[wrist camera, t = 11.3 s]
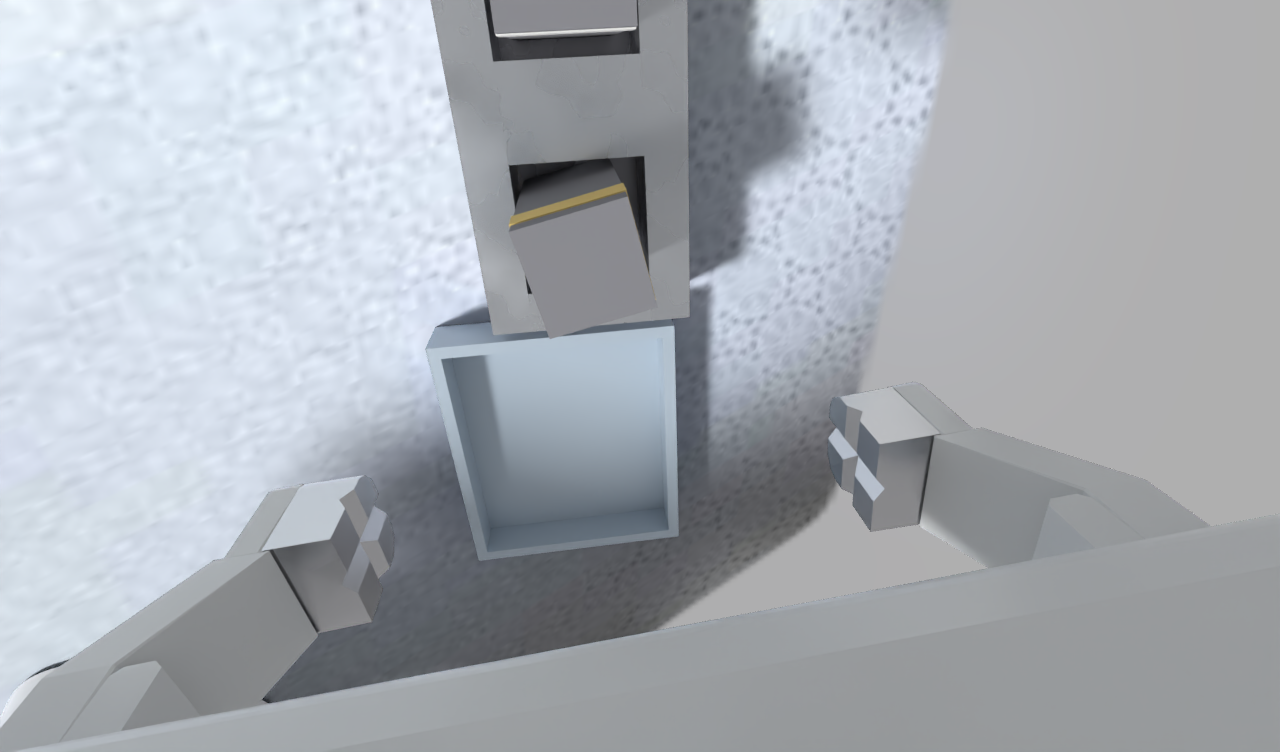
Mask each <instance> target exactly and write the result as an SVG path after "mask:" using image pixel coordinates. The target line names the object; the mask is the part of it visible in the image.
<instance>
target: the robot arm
mask: <svg viewBox="0 0 1280 752" xmlns="http://www.w3.org/2000/svg"><path fill="white" fill-rule="evenodd" d="M829 418H830V420H831V421H832V422H833V424H834V425H835V426H836V429H835V430H834V431H833V432H832V434H831V435H830V436H829V438H828V457H829V462H830V467H831V470H832V473H833V475H834V477H835V479H836V481H837V483H838V484H839V486H840V487H841V488H842V489H844V490H846V491H848V492H850V493H852V494H853V507H854V508H855V510H856V511H857V512H858V514H859V516H860V517H861V518H862V520H863V521H864V523H865V524H866V526H867V527H868V529H869V530H870V531H871V532H872V531H879V530H885V529H892V528H897V527H905V526H911V525H918V524H920V527H921V528H923V529H925V530H926V531H928V532H930V533H931V534H933V535H934V536H936V537H938V538H939V539H941V540H943V541H944V542H946V543H948V544H949V545H951V546H953V547H954V548H956V549H958V550H959V551H961V552H963V553H964V554H966V555H967V556H969V557H971V558H972V559H974V560H976V561H977V562H979V563H981V564H982V565H984V566H986V567H988V569H982V570H977V571H972V572H966V573H961V574H956V575H951V576H946V577H941V578H936V579H931V580H925V581H919V582H914V583H909V584H903V585H898V586H893V587H888V588H882V589H877V590H871V591H866V592H861V593H855V594H850V595H844V596H839V597H834V598H828V599H823V600H818V601H813V602H807V603H801V604H796V605H791V606H785V607H780V608H774V609H770V610H764V611H758V612H753V613H748V614H743V615H737V616H732V617H726V618H721V619H716V620H710V621H705V622H699V623H694V624H689V625H684V626H679V627H673V628H668V629H662V630H657V631H652V632H646V633H641V634H636V635H631V636H625V637H620V638H615V639H609V640H604V641H599V642H594V643H588V644H583V645H578V646H572V647H567V648H562V649H556V650H551V651H546V652H541V653H535V654H530V655H525V656H519V657H514V658H509V659H504V660H498V661H493V662H488V663H482V664H477V665H472V666H466V667H461V668H456V669H450V670H445V671H440V672H434V673H429V674H424V675H418V676H413V677H407V678H402V679H397V680H391V681H386V682H381V683H375V684H370V685H365V686H359V687H354V688H349V689H343V690H338V691H333V692H327V693H322V694H317V695H311V696H306V697H301V698H295V699H290V700H285V701H279V702H274V703H269V704H268V703H267V702H265V701H263V700H262V699H263V698H264V697H265V695H266V694H267V693H268V692H269V691H270V690H271V689H272V688H273V687H274V685H275V684H276V683H277V682H278V681H279V680H280V679H281V678H282V676H283V675H284V674H285V673H286V672H287V671H288V670H289V669H290V667H291V666H292V665H293V664H294V663H295V662H296V661H297V660H298V659H299V657H300V656H301V655H302V654H303V653H304V652H305V651H306V650H307V648H308V647H309V646H310V645H311V644H312V643H313V642H314V641H315V640H316V638H317V637H318V633H323V632H327V631H332V630H337V629H342V628H346V627H351V626H356V625H361V624H366V623H370V622H372V621H373V618H374V615H375V612H376V609H377V606H378V603H379V600H380V597H381V594H382V591H383V588H382V586H381V583H380V581H379V578H380V577H381V576H382V575H383V574H384V573H385V572H386V571H387V570H388V569H389V568H390V566H391V563H392V559H393V556H394V533H393V529H392V524H391V522H390V519H389V517H388V514H387V513H385V512H384V511H382V510H380V509H379V508H377V507H376V506H374V505H375V502H376V500H377V497H378V494H379V493H378V491H377V489H376V487H375V485H374V483H373V481H372V479H371V478H369V477H367V476H365V475H362V476H355V477H348V478H342V479H335V480H328V481H321V482H314V483H307V484H305V485H304V484H300V485H294V486H289V487H283V488H277V489H275V490H272V491H270V492H268V494H267V495H266V497H265V498H264V500H263V501H262V503H261V504H260V506H259V507H258V509H257V510H256V512H255V513H254V515H253V516H252V518H251V519H250V521H249V522H248V524H247V525H246V527H245V528H244V529H243V531H242V532H241V534H240V535H239V537H238V538H237V540H236V541H235V543H234V544H233V546H232V547H231V549H230V550H229V552H228V553H227V555H226V556H225V558H223V559H218V560H213V561H212V562H211V563H209V564H208V565H206V566H205V567H203V568H202V569H200V570H199V571H197V572H196V573H195V574H193V575H192V576H190V577H189V578H187V579H186V580H184V581H183V582H181V583H180V584H179V585H177V586H176V587H174V588H173V589H171V590H170V591H168V592H167V593H166V594H164V595H163V596H161V597H160V598H158V599H157V600H155V601H154V602H152V603H151V604H150V605H148V606H147V607H145V608H144V609H142V610H141V611H139V612H138V613H136V614H135V615H134V616H132V617H131V618H129V619H128V620H126V621H125V622H123V623H122V624H120V625H119V626H118V627H116V628H115V629H113V630H112V631H110V632H109V633H107V634H106V635H104V636H103V637H102V638H100V639H99V640H97V641H96V642H94V643H93V644H91V645H90V646H89V647H87V648H86V649H84V650H83V651H81V652H80V653H78V654H77V655H75V656H74V657H73V658H71V659H70V660H68V661H67V662H65V663H64V664H62V665H61V666H59V667H56V668H53V669H50V670H47V671H44V672H41V673H39V674H37V675H35V676H33V677H31V678H29V679H27V680H26V681H24V682H23V683H22V684H21V685H19V686H18V687H17V688H16V689H15V690H14V692H13V693H12V694H11V696H10V698H9V700H8V702H7V704H6V706H5V708H4V710H3V712H2V714H1V716H0V752H1280V514H1275V515H1270V516H1264V517H1259V518H1254V519H1249V520H1243V521H1239V522H1233V523H1227V524H1223V525H1217V526H1210V525H1209V524H1207V523H1206V522H1205V521H1203V520H1202V519H1200V518H1199V517H1197V516H1196V515H1195V514H1193V513H1192V512H1191V511H1189V510H1188V509H1186V508H1185V507H1183V506H1182V505H1181V504H1179V503H1178V502H1176V501H1175V500H1173V499H1172V498H1171V497H1169V496H1168V495H1167V494H1165V493H1164V492H1162V491H1161V490H1160V489H1158V488H1157V487H1155V486H1154V485H1152V484H1151V483H1150V482H1148V481H1147V480H1145V479H1142V478H1139V477H1136V476H1133V475H1129V474H1126V473H1123V472H1120V471H1117V470H1113V469H1111V468H1107V467H1104V466H1101V465H1098V464H1095V463H1092V462H1089V461H1085V460H1082V459H1079V458H1076V457H1073V456H1070V455H1066V454H1063V453H1060V452H1057V451H1054V450H1051V449H1048V448H1045V447H1041V446H1038V445H1035V444H1032V443H1029V442H1026V441H1023V440H1019V439H1016V438H1013V437H1010V436H1007V435H1004V434H1001V433H997V432H994V431H991V430H988V429H985V428H977V429H973V428H972V427H970V426H969V425H968V424H967V423H966V422H965V421H964V420H962V419H961V418H960V417H959V416H958V415H957V414H956V413H954V412H953V411H952V410H951V409H950V408H949V407H947V406H946V405H945V404H944V403H943V402H942V401H941V400H939V399H938V398H937V397H936V396H935V395H934V394H933V393H931V392H930V391H929V390H928V389H927V388H926V387H924V386H923V385H922V384H920V383H917V382H911V383H906V384H901V385H896V386H891V387H887V388H883V389H878V390H872V391H867V392H861V393H856V394H851V395H845V396H840V397H834V398H833V399H832V402H831V404H830V413H829Z"/></svg>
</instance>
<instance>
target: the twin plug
mask: <svg viewBox="0 0 1280 752" xmlns="http://www.w3.org/2000/svg"><path fill="white" fill-rule="evenodd" d="M490 5H491V12H492V19H493V26H494V33H495V34H496V36H497V37H507V38H510V39H512V40H515V41H521V40H540V39H559V38H578V37H597V36H613V35H616V34H618V33H621V32H623V31H632V30H635V29H636V26H638V21H637V0H490Z"/></svg>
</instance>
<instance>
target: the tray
mask: <svg viewBox="0 0 1280 752" xmlns="http://www.w3.org/2000/svg"><path fill="white" fill-rule="evenodd" d="M425 350H426V354H427V358H428V362H429V366H430V370H431V374H432V377H433V381H434V385H435V389H436V393H437V397H438V401H439V405H440V409H441V413H442V417H443V421H444V425H445V429H446V433H447V437H448V441H449V445H450V449H451V453H452V457H453V461H454V465H455V469H456V473H457V477H458V481H459V484H460V488H461V492H462V496H463V500H464V504H465V508H466V512H467V516H468V520H469V524H470V528H471V532H472V536H473V540H474V544H475V548H476V552H477V556H478V560H479V561H483V560H491V559H499V558H507V557H515V556H524V555H532V554H540V553H548V552H556V551H564V550H572V549H580V548H588V547H596V546H604V545H613V544H621V543H629V542H637V541H645V540H653V539H661V538H669V537H677V536H679V521H678V474H677V426H676V379H675V331H674V324H673V321H672V319H665V320H654V321H643V322H632V323H621V324H611V325H600V326H593V327H590V328H586V329H583V330H580V331H576V332H573V333H569V334H566V335H563V336H559V337H556V338H552V339H550V338H549V336H548V333H547V331H535V332H524V333H514V334H503V335H493V331H492V326H491V322H485V323H474V324H463V325H452V326H441V327H435V329H434V331H433V334H432V336H431V338H430V340H429V342H428V344H427V347H426V349H425Z"/></svg>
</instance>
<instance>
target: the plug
mask: <svg viewBox="0 0 1280 752" xmlns="http://www.w3.org/2000/svg"><path fill="white" fill-rule="evenodd" d="M509 227H510V230H509V234H510V237H511V239H512V242H513V244H514V247H515V250H516V252H517V255H518V257H519V260H520V263H521V265H522V268H523V271H524V273H525V276H526V278H527V281H528V284H529V286H530V289H531V291H532V294H533V297H534V299H535V302H536V304H537V307H538V310H539V312H540V315H541V318H542V320H543V323H544V325H545V328H546V331H547V333H548V336H549V338H550V339H552V338H556V337H559V336H563V335H566V334H569V333H573V332H576V331H580V330H583V329H586V328H590V327H593V326H597V325H600V324H603V323H607V322H610V321H614V320H617V319H620V318H624V317H627V316H630V315H634V314H637V313H641V312H644V311H647V310H651V309H654V308H658V307H657V303H656V298H655V294H654V290H653V286H652V283H651V279H650V275H649V272H648V268H647V264H646V260H645V257H644V253H643V249H642V246H641V242H640V238H639V234H638V231H637V227H636V223H635V220H634V216H633V212H632V208H631V205H630V201H629V197H628V194H627V190H626V188H625V186H624V184H623V183H621V181H620V179H619V177H618V175H617V173H616V171H615V169H614V167H613V165H612V163H611V161H610V159H609V158H607V159H593V160H590V161H587V162H583V163H580V164H577V165H573V166H570V167H567V168H563V169H560V170H557V171H554V172H550V173H547V174H544V175H540V176H537V177H534V178H530V179H527V180H524V182H523V185H522V188H521V192H520V195H519V199H518V202H517V206H516V209H515V212H514V216H511V219H510V222H509Z"/></svg>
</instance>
